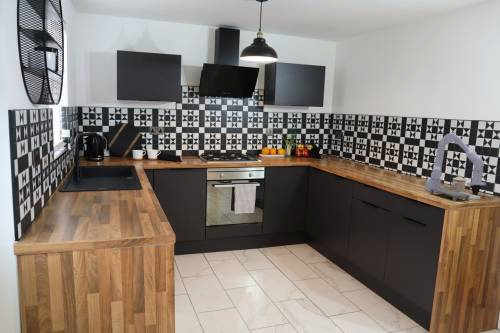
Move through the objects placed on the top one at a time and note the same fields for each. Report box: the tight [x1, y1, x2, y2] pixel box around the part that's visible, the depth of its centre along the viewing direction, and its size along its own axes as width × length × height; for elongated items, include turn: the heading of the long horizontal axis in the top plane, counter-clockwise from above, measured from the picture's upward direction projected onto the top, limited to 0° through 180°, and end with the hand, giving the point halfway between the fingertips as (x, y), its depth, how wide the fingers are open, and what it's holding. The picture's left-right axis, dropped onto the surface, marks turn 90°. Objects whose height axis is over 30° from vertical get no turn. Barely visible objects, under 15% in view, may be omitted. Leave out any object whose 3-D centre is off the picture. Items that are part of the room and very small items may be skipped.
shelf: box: [429, 187, 470, 203], centre depth 265 cm, size 12×22×4 cm, turn 17°
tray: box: [457, 191, 482, 201], centre depth 269 cm, size 12×15×2 cm
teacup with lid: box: [450, 175, 467, 192], centre depth 290 cm, size 12×9×12 cm
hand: (474, 195), depth 272 cm, fingers closed
